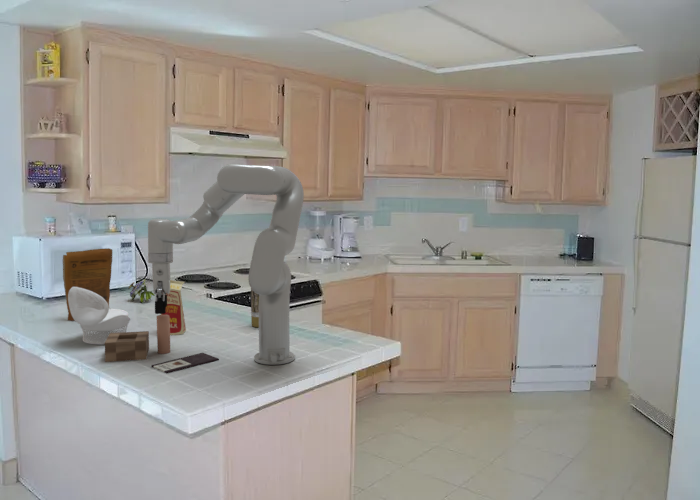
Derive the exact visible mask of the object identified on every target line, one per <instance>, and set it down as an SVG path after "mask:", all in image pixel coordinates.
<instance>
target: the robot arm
mask: <svg viewBox="0 0 700 500" xmlns="http://www.w3.org/2000/svg"><path fill="white" fill-rule="evenodd" d="M216 179H217V180H216V181H215V183H213V184H212V185H211V186H210V187H209V188H208V189H207V190H206V191H204V193H203V196H202V197H203V202H202V204H201V205H200V207H199V208H198V209H197V210H196V211H195V212H194V213H192V214H191V215H190V216H189V217H188V218H181V219H177V220H171V219H166V218H152V219H150V220H149V221H148V222H147V254H148V256H147V257H148V261H147V262H148V263H149V264H152V265H151V269H152V289H153V290H152V292H153V294H154V295H155V297H154V298H155V299H154V313H155V315H161V314H165V313H166V307H167V295H166V293H167V294H169V293H170V280H171V265H170V264H171V263H173V262H174V252H173V251H174V248H173V246H174V244H175V245H182V244H183V245H185V244H187V243H192V242H195V241H197V240H199V239H201V238H202V237H203V236H204V235H205V234H206V233H207V232H208V231H210V230H211V229H212V228H213V227H214V226H215V225H216V224H217V223H218V222H219V220H220V219H221V217H222V216H223V214H225V213H226V211H228V210H229V209H230V208H231V207H232V206H233V205H234V204H235V203H237V201H239V200H240V199H241V198H242V197H243V196H244V195H255V196H256V195H258V196H259V195H260V196H274V195H275V196H276V200H275V204H274V205H273V209H272V214H271V218H270V223H269V227H267V228H265V229H264V230H262V231H260V233H259V234H258V236H257V238H256V240H255V242H254V247H253V251H252V256H251V260H250V265H249V271H248V277H247V278H248V279H247V280H248V284H249V287H250V290H251V289H252V290H253V291H254V292H255V293H257V294H259V327H258V352H257V353H256V354H255V355H254V356H253V359H254V361H255V362H256V363H257V364H261V365H268V366H269V365H271V366H277V365H284V364H288V363H291V362H293V361H294V360H295V357H296V356H295V353H294V352H291V350H290V346H291V345H290V343H291V342H290V339H291V338H290V336H291V335H290V297H291V296H290V295H291V285H292V272H291V269H290V266H289V265H288V264H287V262H285V257H286V256H287V255H290V254H291V253H292V252H293V251H294V249H295V246H296V242H297V241H296V240H297V236H298V235H297V234H298V231H299V226H300V220H301V214H302V211H303V204H304V197H305V195H304V187H303V184H302V182H301V181H300V178H299V177H298V176H297V175H296V174H295V173H294V172H293V171H291V170H290V169H288V168H286V167H285V166H280V165H279V166H277V165H249V164H240V163H230V164H226V165H224V166H223V167H222V168H221V169H220V170H219V171H218V173H217V177H216Z"/></svg>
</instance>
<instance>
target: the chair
mask: <svg viewBox="0 0 700 500" xmlns="http://www.w3.org/2000/svg"><path fill="white" fill-rule="evenodd" d="M80 291H81V292H80ZM77 292H78V293H77ZM79 292H80V293H79ZM86 293H87V294H88V295H85V294H86ZM89 293H90V294H89ZM78 294H79V295H78ZM77 295H78V296H77ZM89 295H90V296H89ZM69 296H70V297H69ZM79 296H80V297H79ZM81 296H82V297H81ZM93 296H94V298H93V299H92V298H91V297H93ZM78 297H79V298H80V299H79V298H78ZM83 297H84V298H85V299H84V298H83ZM95 297H96V298H97V299H98V300H96V298H95ZM81 298H82V300H81ZM90 298H91V300H92V301H91V300H90ZM100 299H101V300H100ZM84 300H86V301H84ZM88 300H89V301H90V303H91V304H90V303H89V302H88ZM79 301H80V302H79ZM98 301H99V306H98ZM101 301H102V302H101ZM96 302H97V303H96ZM68 303H69V308H70V312H71V315H72V317H73V319H74V320H75V321H74V322H76V323H77V324H79V326H80V328H81V330H82V341H83V342H84V343H86V344H89V345H105V341H106V339H107V338H108V336H109V334H110V333H123V332H127V329H128V325H129V323H130V321H131V318H130V317H129V312H128V311H126V310H123V309H119V308H110V304H109V305H108V303H107V302H106V300H105V299H104V298H102V297H101V296H100V295H98V294H96V293H94V292H92V291H90V290H87V289H83V288H79V287H72V288H71V289H70V290H69V293H68ZM82 303H83V304H82ZM85 303H87V304H85ZM102 303H103V304H105V305H103V304H102ZM92 304H93V306H92ZM100 304H101V305H100ZM85 305H86V306H85ZM88 305H89V306H88ZM102 305H103V306H104V307H103V306H102ZM90 306H91V308H90ZM94 306H95V307H96V308H95V307H94ZM97 306H98V308H97ZM78 307H79V308H78ZM80 307H82V308H83V309H82V308H80ZM93 307H94V308H93ZM99 307H100V308H101V309H100V310H98V309H99ZM90 310H91V311H90ZM88 311H89V312H88Z"/></svg>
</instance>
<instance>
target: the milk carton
mask: <svg viewBox="0 0 700 500" xmlns="http://www.w3.org/2000/svg"><path fill="white" fill-rule="evenodd" d="M185 282H186V281H179V280H172V279H170V293H169V294H167V293H166V295H167V307H166V313H165V314H160V315H169V317H170V336H176V335H178V336H179V335H184V334H185V333H186V331H187V327H186V321H185V314H184V308H183V307H184V306H183V300H182V299H183V298H182V293H181V292H182V291H181V290H182V287H183V285H184V283H185Z"/></svg>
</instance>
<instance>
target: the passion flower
mask: <svg viewBox="0 0 700 500" xmlns="http://www.w3.org/2000/svg"><path fill="white" fill-rule="evenodd" d="M146 281H147V280H146V278H145V279H143V280H141V281H139V282H138V283H137V284H135V282H132V283H130V284H129V286H128V288H127V289H128V290H129V289H131V290H130V292H129V297H130V298H131V300H130V302H134V301H135V298H136V297H137V295H138V296H139V300H140V302H141V304H144V301H145V302H148V301H151V298H152V296H153V297H156V294H154V292H153V290H150V291H148V289H147V286H146ZM134 284H135V286H134Z"/></svg>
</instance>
